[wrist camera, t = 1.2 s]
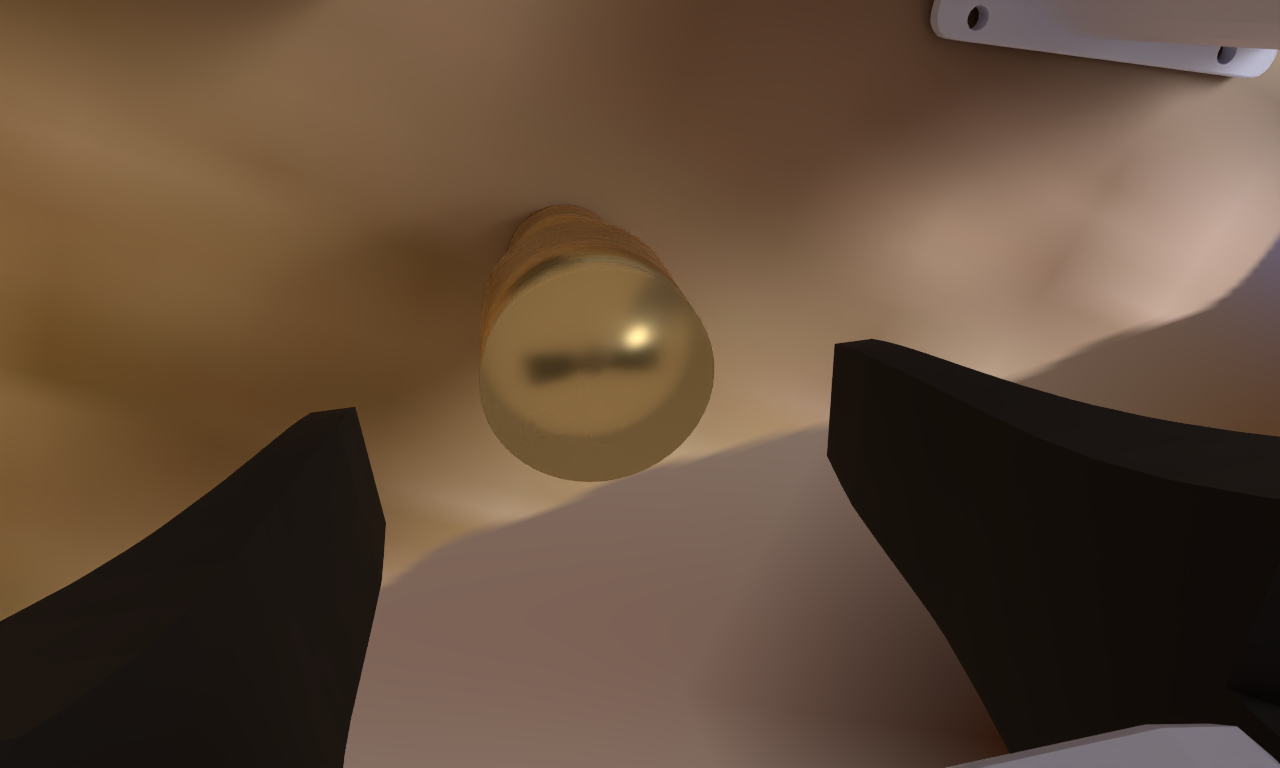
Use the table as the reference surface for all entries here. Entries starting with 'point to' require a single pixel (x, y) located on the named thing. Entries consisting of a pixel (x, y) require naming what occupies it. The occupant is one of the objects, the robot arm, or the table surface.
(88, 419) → the table surface
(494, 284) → the peg
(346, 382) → the table surface
